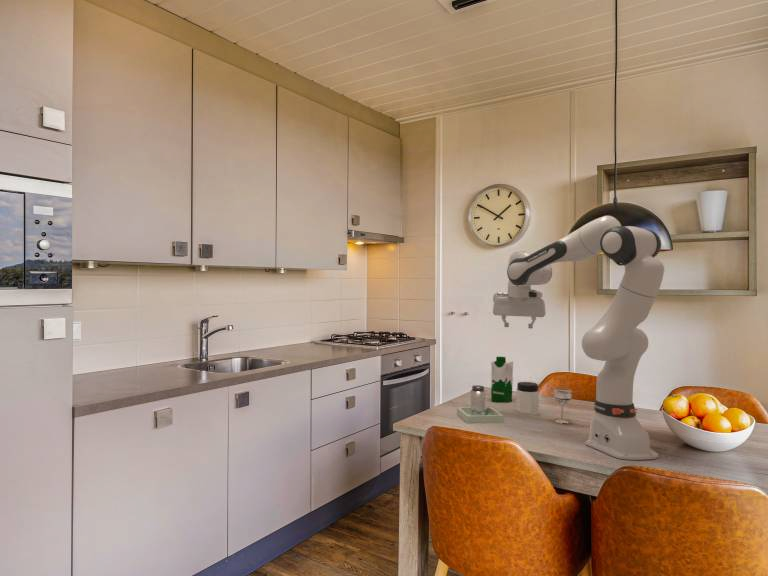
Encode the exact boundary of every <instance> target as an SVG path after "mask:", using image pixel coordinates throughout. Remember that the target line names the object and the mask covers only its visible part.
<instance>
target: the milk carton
mask: <svg viewBox="0 0 768 576" xmlns="http://www.w3.org/2000/svg"><path fill="white" fill-rule="evenodd" d="M490 364H491V372H490V373H491V374H490V375H491V377H490V379H491V380H490V382H491V383H490V395H491V396H490V398H491V401H492V402H493V403H498V402H499V404H500V403H501V404H505V403H507V404H508V403H510V401H511V402H512V401H513V381H514V377H513V374H514V373H513V372H514V371H513V370H514V361H513V360H506V356H496V358H495V360H492V361H491V363H490Z"/></svg>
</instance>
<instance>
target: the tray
mask: <svg viewBox="0 0 768 576" xmlns="http://www.w3.org/2000/svg"><path fill="white" fill-rule="evenodd" d="M485 407H486V408H488V410H489V413H488V414H487V415H480V416H470V411H471V406H463V407H462V406H461V407H460V406H458V407H456V415H458V417H460V418H461V419H462V420H463V421H464V422H465V423H466V424H496V423H498V424H499V423H504V420H505V419H504V415H503V414H502V413H500V412H499V411H498V410H497V409H495V408H494V407H492V406H485Z"/></svg>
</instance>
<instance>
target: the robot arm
mask: <svg viewBox="0 0 768 576" xmlns="http://www.w3.org/2000/svg"><path fill="white" fill-rule="evenodd" d="M661 249H662V240H661V237H660V236H659V234H658V233H656V232H654V231H653V230H651V229H648V228H643V227H642V228H641V227H637V226H633V225H632V226H631V225H628V226H626V225H625V226H623V225H622V224H621V222H620V221H619V220H618V219H617V218H616V217H614V216H612V215H604V216H601V217H598V218H595V219H592V220H591V221H588V222H587V223H586V224H584V225H582V226H581V227H579V228H577V229H576V230H574V231H573V232H570V233H569V234H568V235H565V236H564V237H562V238H560V239H558V240H556V241H554V242H552V243H550V244H548V245H546V246H544V247H542V248H540V249H538V250H537V251H535V252H533V253H530V252H528V251H517V252H513V253H512V254H510V257H509V259H508V266H507V269H506V274H507V278H508V283H507V292H496V293H495V294H493V297H492V302H493V306H492V313H493V315H494V316H500V317H501V320H502V322H503V323H504V324H503V325H504V328H509V327H510V322H507V320H506V319H507V317H529V318H530V319H531V322H530V323H528V324H527V326H528V329H530V330H531V329H532V330H533V329H534V323H535V322H536V320H537V318H544V317H545V316H546V303H545V301H544V299H543V292H542V291H538V290H536V289H532V286H542V285H547V284H548V283H549V282H550V280H551V279H552V277H553V270H552V269H553V268H552V265H553V264H556V263H564V262H565V263H566V262H582V261H586V260H589V259H591V258H595V257H596V256H598V255H599V254H602V253H603V254H604V255H605V256H606V257H607V258H609V259H610V260H612V261H613V262H614V263H615V264H616V265H617V266H623V267H624V274H623V276H622V279H621V281H620V284H619V286H618V288H617V290H616V293H615V295H614V297H613V300H612V302H611V304H610V305H609V307H608V309H607V310H606V312H605V313H604V314H603V316H602V317H601V318H600V319H599V321H598V322H597V323H596V324H595V325H594V326H593V327H591V328H590V329H589V330H588V331H586V332H585V333H584V335H583V336H582V339H581V348H582V351H583V353H584V354H585V356H587V357H588V358H589V359H593V360H596V361H602V362H604V366H603V367H602V369H601V371H600V372H599V373H597V376H596V385H595V386H596V389H595V391H596V392H595V393H596V394H595V396H596V397H595V399H594V403H593V405H594V408H593V409H594V415H593V417H592V418H591V421H590V427H589V436H588V439H587V440H586V441H585V445H587V446H589V447H591V448H593V449H596V450H597V451H600V452H602V453H605V454H606V455H609V456H611V457H614V458H616V459H619V460H631V461H637V460H638V461H639V460H641V461H643V460H645V461H646V460H654V459H658V458H659V457H660V456H659V453H658V452H657V451H655V450H654V449H652V448H651V443H650V433H649V431H647V430H645V428H644V427H643V425H642V424H641V423H640V421H639V420H638V418H637V413H638V408H637V409H636V407H635V403H634V402H633V401H634V400H633V398H634V380H635V375H636V372H637V369H638V366H639V363H640V360H641V359H642V356H643V355H644V354H645V353H646V351H647V350H648V347H649V338H648V336H647V334H646V332H645V331H643V330H642V329H640V328H638V327H639V325H641V324H642V323H643V322H645V320H646V319H647V318H648V316H649V314H650V311H651V310H652V308H653V305H654V303H655V300H656V298H657V296H658V294H659V290H660V288H661V285H662V281H663V279H664V278H663V277H664V273H665V266H664V263H662V261H661V260H659V258H656V256H658V254H659V253H660V251H661Z"/></svg>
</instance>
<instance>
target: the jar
mask: <svg viewBox="0 0 768 576" xmlns="http://www.w3.org/2000/svg"><path fill="white" fill-rule="evenodd" d="M515 390H516V393H515V394H516V395H515V397H516V398H515V400H516V401H515V411H517V412H518V413H520V414H528V415H534V416H537V415H539V409H540V408H539V407H540V405H539V401H540V392H539V384H538V383H536V382H533V381H532V382H531V381H519V382H517V387H516V389H515Z"/></svg>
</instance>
